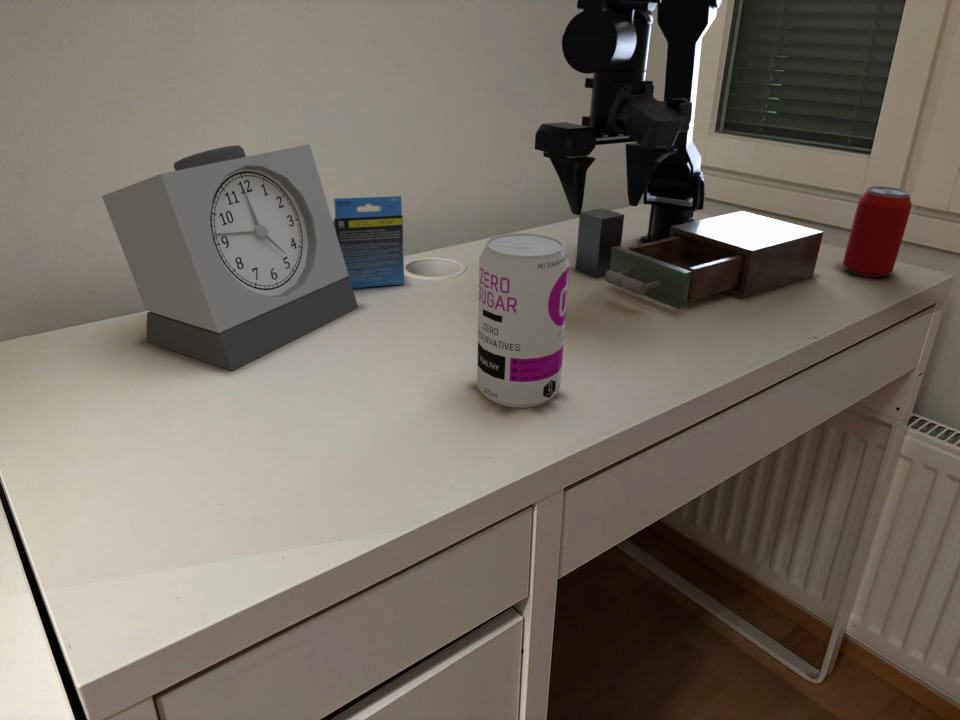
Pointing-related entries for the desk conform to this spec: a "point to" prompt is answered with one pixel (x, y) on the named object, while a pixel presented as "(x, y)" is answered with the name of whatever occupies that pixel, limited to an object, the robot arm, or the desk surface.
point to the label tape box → (371, 240)
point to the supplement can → (521, 318)
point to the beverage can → (877, 231)
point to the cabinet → (759, 248)
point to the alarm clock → (233, 253)
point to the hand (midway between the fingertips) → (605, 210)
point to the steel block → (597, 240)
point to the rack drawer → (675, 270)
